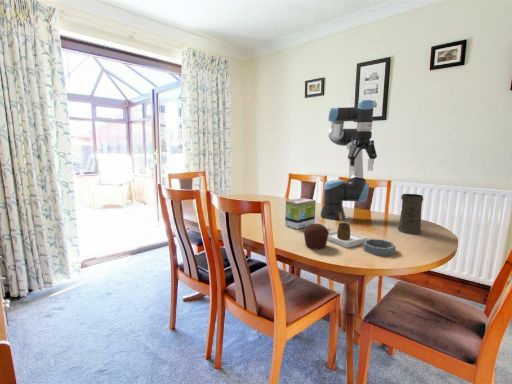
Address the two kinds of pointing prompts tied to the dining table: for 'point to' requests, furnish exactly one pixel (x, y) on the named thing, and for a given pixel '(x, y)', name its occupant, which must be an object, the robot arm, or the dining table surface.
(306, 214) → the tea box
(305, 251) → the dining table surface
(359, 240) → the tray
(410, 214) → the beer stein
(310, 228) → the muffin
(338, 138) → the robot arm
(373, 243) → the grey octagonal ring
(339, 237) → the utensil holder
